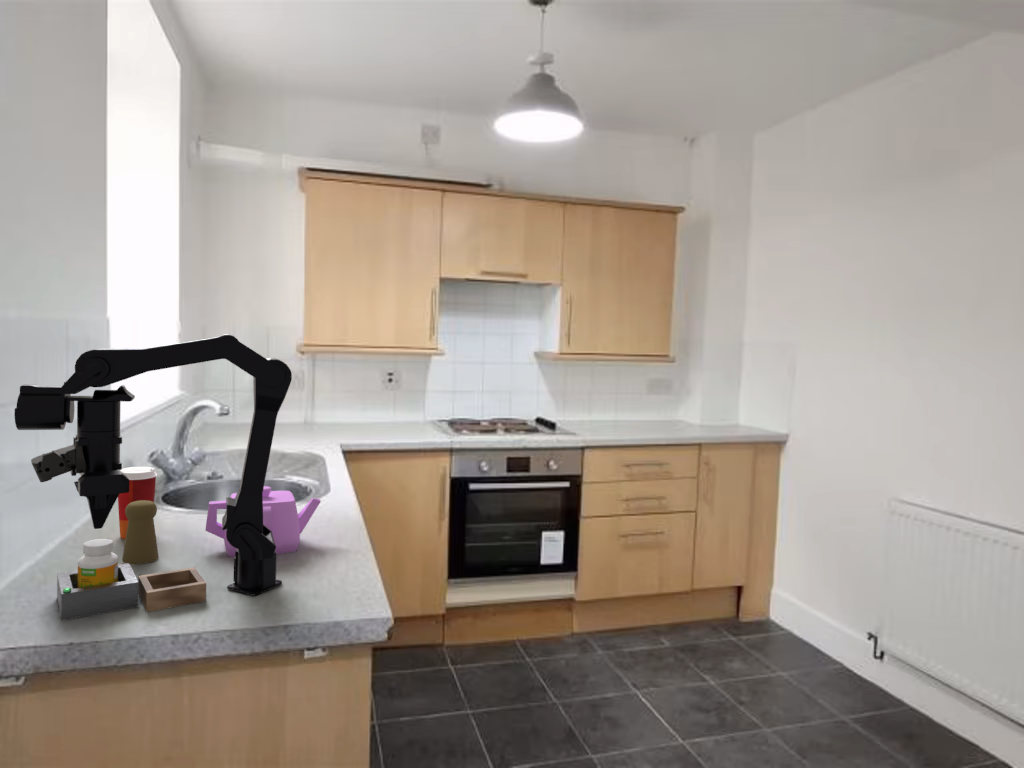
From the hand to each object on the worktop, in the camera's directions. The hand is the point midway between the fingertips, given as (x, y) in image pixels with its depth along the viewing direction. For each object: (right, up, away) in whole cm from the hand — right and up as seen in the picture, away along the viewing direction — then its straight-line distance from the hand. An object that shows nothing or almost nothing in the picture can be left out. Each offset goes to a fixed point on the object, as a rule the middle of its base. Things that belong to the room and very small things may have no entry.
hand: (97, 528), depth 105 cm
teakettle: (+14, -11, +33) cm, 37 cm away
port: (-1, -12, +1) cm, 12 cm away
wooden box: (+10, -12, +4) cm, 16 cm away
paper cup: (-13, -9, +34) cm, 38 cm away
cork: (-5, -11, +21) cm, 24 cm away
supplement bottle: (0, -12, +1) cm, 12 cm away
